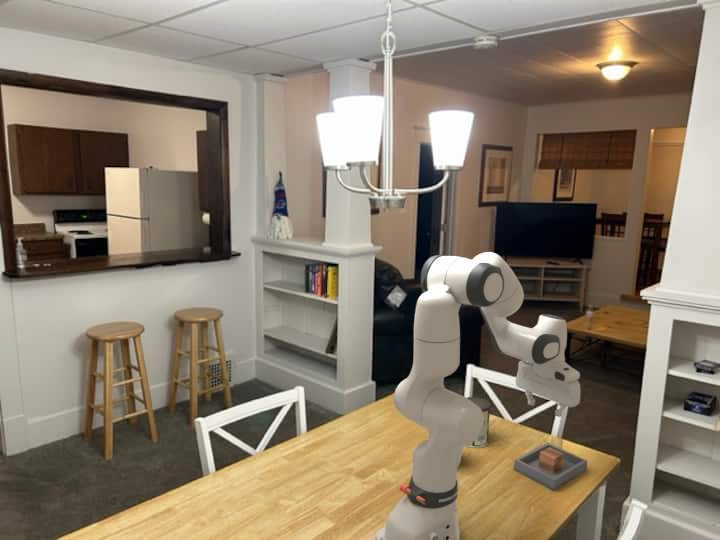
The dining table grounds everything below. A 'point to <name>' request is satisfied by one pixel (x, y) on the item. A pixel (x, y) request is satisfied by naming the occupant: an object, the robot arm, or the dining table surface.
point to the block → (551, 460)
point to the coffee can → (485, 408)
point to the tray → (531, 469)
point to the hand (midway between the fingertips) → (544, 410)
